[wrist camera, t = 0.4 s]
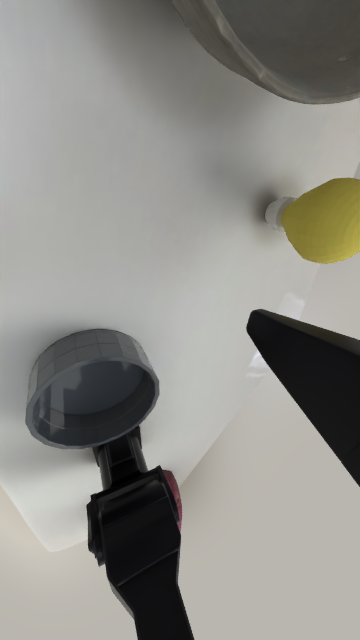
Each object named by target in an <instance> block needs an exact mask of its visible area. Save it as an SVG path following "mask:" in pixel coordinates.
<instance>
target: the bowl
mask: <svg viewBox="0 0 360 640" xmlns="http://www.w3.org/2000/svg"><path fill="white" fill-rule="evenodd" d="M172 2H173V4H174V6H175V8H176V10H177V11H178V13H179V15H180V16H181V18H182V20H183V21H184V23H185V25H186V26H187V27H188V29H189V30H190V32H191V33H192V34H193V36H194V37H195V38H196V39H197V41H198V42H199V43H200V44H201V45H202V46H203V47H204V48H205V49H206V50H207V52H208V53H210V54H211V55H212V56H213V57H214V58H216V59H217V60H218V61H219V62H220V63H222V64H223V65H225V66H226V67H227V68H229V69H230V70H232V71H234V72H236V73H238V74H240V75H242V76H244V77H245V78H247V79H249V80H250V81H252V82H254V83H255V84H257V85H258V86H260V87H262V88H264V89H266V90H268V91H270V92H272V93H274V94H275V95H277V96H280V97H282V98H285V99H287V100H290V101H294V102H299V103H304V104H332V103H339V102H345V101H350V100H353V99H356V98H359V97H360V0H172Z"/></svg>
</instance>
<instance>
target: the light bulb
mask: <svg viewBox="0 0 360 640" xmlns="http://www.w3.org/2000/svg"><path fill="white" fill-rule="evenodd" d="M265 219H266V222H267V223H268V224H270V225H271V227H272V228H273V229H274V230H277V231H281V232H286V235H287V237H288V240H289V241H290V242H291V244H292V245H293V247H294V248H295V249H296V251H297V252H298V253H299V255H300V256H301V257H302V258H304V259H306V260H308V261H312V262H316V263H322V264H327V263H334V262H338V261H342V260H345V259H347V258H350V257H352V256H353V255H355V254H356V253H358V252H360V180H358V179H355V178H337V179H332V180H330V181H328V182H326V183H324V184H322V185H320V186H318V187H316V188H314V189H312V190H310V191H308V192H306V193H304V194H303V195H302V196H300V197H299V198H298V199H297V198H294V197H283V198H281V199H279V200H276V201H273V202H271V203H270V204H269V206H268V207H267V210H266V213H265Z"/></svg>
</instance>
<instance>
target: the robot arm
mask: <svg viewBox="0 0 360 640" xmlns="http://www.w3.org/2000/svg"><path fill="white" fill-rule="evenodd" d="M246 329H247V333H248V334H249V336H250V338H251V339H252V341H253V342H254V344H255V346H256V347H257V349H258V351H259V352H260V354H261V355H262V357H263V359H264V360H265V362H266V363H267V364H268V366H269V367H270V368H271V370H272V371H273V372H274V373H275V375H276V376H277V378H278V379H279V380H280V382H281V383H282V384H283V385H284V387H285V388H286V390H287V391H288V392H289V394H290V395H291V396H292V397H293V399H294V400H295V401H296V403H297V404H298V405H299V407H300V408H301V409H302V411H303V412H304V413H305V415H306V416H307V417H308V419H309V420H310V421H311V423H312V424H313V425H314V427H315V428H316V429H317V431H318V432H319V433H320V434H321V436H322V437H323V439H324V440H325V441H326V442H327V444H328V445H329V447H330V448H331V449H332V450H333V452H334V453H335V454H336V456H337V457H338V458H339V460H340V461H341V463H342V464H343V465H344V467H345V468H346V469H347V471H348V472H349V473H350V475H351V476H352V477H353V479H354V480H355V481H356V483H357V484H358V485H359V487H360V340H357V339H355V338H351V337H349V336H345V335H342V334H339V333H336V332H333V331H330V330H327V329H323V328H320V327H317V326H314V325H311V324H307V323H304V322H301V321H298V320H295V319H292V318H289V317H286V316H282V315H279V314H276V313H273V312H270V311H267V310H263V309H258V310H253V311H252V312H251V314H250V317H249V320H248V323H247V327H246ZM92 449H93V452H94V455H95V458H96V462H97V465H98V467H100V473H101V479H102V486H103V491H101V492H99V493H97V494H92V495H91V501H90V502H89V503H88V504H87V505H86V507H87V517H88V549H89V551H90V552H92V553H93V554H95V558H97V561H98V565H99V566H101V565H103V564H105V565H106V573H107V577H108V581H109V583H110V586H111V589H112V591H113V593H114V594H115V596H116V597H117V598H118V599H119V601H120V602H121V603H122V605H123V606H124V607H125V608H126V610H127V611H128V612H129V614H130V615H131V616H132V618H133V619H134V620H135V625H136V631H137V637H138V640H194V637H193V634H192V630H191V627H190V624H189V620H188V617H187V614H186V610H185V607H184V603H183V600H182V597H181V593H180V590H179V586H178V572H179V558H180V545H181V534H180V530H179V527H178V523H179V522H180V517H179V512H178V507H177V504H176V501H175V498H174V495H173V492H172V490H171V488H170V486H169V484H168V481H167V479H166V477H165V475H164V473H163V471H162V468H161V466H160V465H159V466H157V467H156V468H154V469H152V470H150V471H148V469H147V466H146V463H145V460H144V456H143V453H142V450H141V449H142V446H141V436H140V427H139V425H138V426H137V427H135V428H134V429H133V430H131V431H130V432H128V433H126V434H125V435H123V436H121V437H119V438H117V439H115V440H113V441H110V442H107V443H105V444H102V445H99V446H94V447H92Z"/></svg>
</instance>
